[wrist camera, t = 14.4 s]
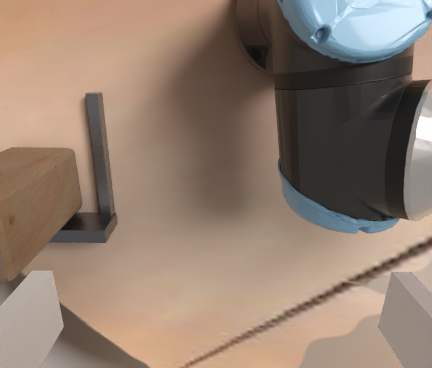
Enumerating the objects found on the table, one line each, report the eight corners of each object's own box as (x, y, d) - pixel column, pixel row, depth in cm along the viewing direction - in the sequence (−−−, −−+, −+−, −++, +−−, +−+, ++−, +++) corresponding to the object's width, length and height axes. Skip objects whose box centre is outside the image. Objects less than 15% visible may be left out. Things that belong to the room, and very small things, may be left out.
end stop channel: (-39, 90, 44) (-76, 93, 39) (103, 92, 45) (87, 96, 39) (-5, 222, 51) (-31, 241, 46) (117, 223, 52) (105, 242, 46)
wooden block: (76, 146, 47) (-13, 198, 28) (85, 206, 51) (11, 287, 32) (9, 145, 47) (-124, 197, 28) (22, 206, 51) (-88, 287, 32)
